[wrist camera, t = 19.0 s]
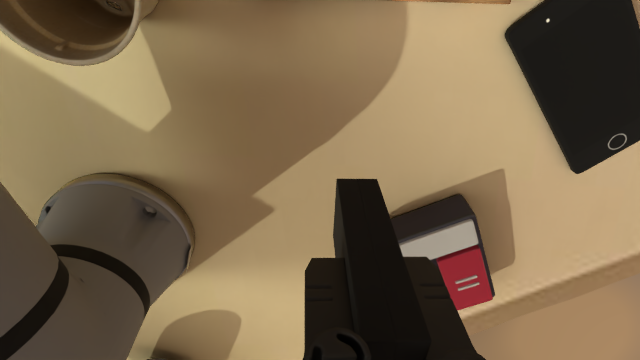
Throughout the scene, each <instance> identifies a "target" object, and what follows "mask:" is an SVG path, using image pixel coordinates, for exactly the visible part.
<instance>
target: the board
mask: <svg viewBox="0 0 640 360" xmlns="http://www.w3.org/2000/svg"><path fill="white" fill-rule="evenodd" d="M394 1H426V2H458V3H490V4H510V2H511V0H394Z"/></svg>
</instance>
